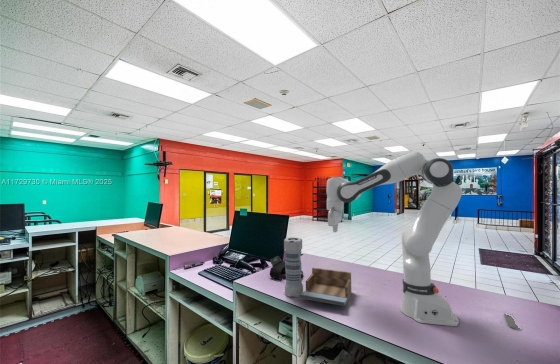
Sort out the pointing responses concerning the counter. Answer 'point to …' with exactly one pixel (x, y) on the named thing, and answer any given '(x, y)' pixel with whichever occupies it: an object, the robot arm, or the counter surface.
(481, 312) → the counter surface
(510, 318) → the stone tool
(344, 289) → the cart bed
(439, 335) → the counter surface
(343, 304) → the panel
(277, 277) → the virtual reality headset
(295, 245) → the canister
